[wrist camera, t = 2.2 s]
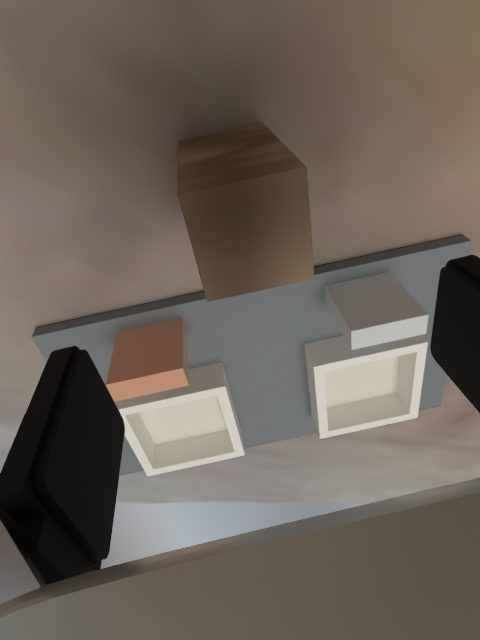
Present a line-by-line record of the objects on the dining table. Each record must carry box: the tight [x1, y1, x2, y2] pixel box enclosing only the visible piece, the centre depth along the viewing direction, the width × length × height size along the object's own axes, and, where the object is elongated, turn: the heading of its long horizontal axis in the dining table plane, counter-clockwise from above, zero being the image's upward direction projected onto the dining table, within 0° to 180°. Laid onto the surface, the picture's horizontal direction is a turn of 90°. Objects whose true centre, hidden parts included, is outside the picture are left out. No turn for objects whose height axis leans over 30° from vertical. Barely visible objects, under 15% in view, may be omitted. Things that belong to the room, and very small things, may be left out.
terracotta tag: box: [106, 317, 189, 402], centre depth 24 cm, size 4×1×5 cm, turn 100°
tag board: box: [32, 235, 471, 476], centre depth 29 cm, size 29×16×4 cm, turn 100°
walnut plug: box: [178, 123, 315, 302], centre depth 18 cm, size 4×4×9 cm
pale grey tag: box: [325, 272, 429, 350], centre depth 24 cm, size 4×1×5 cm, turn 100°
